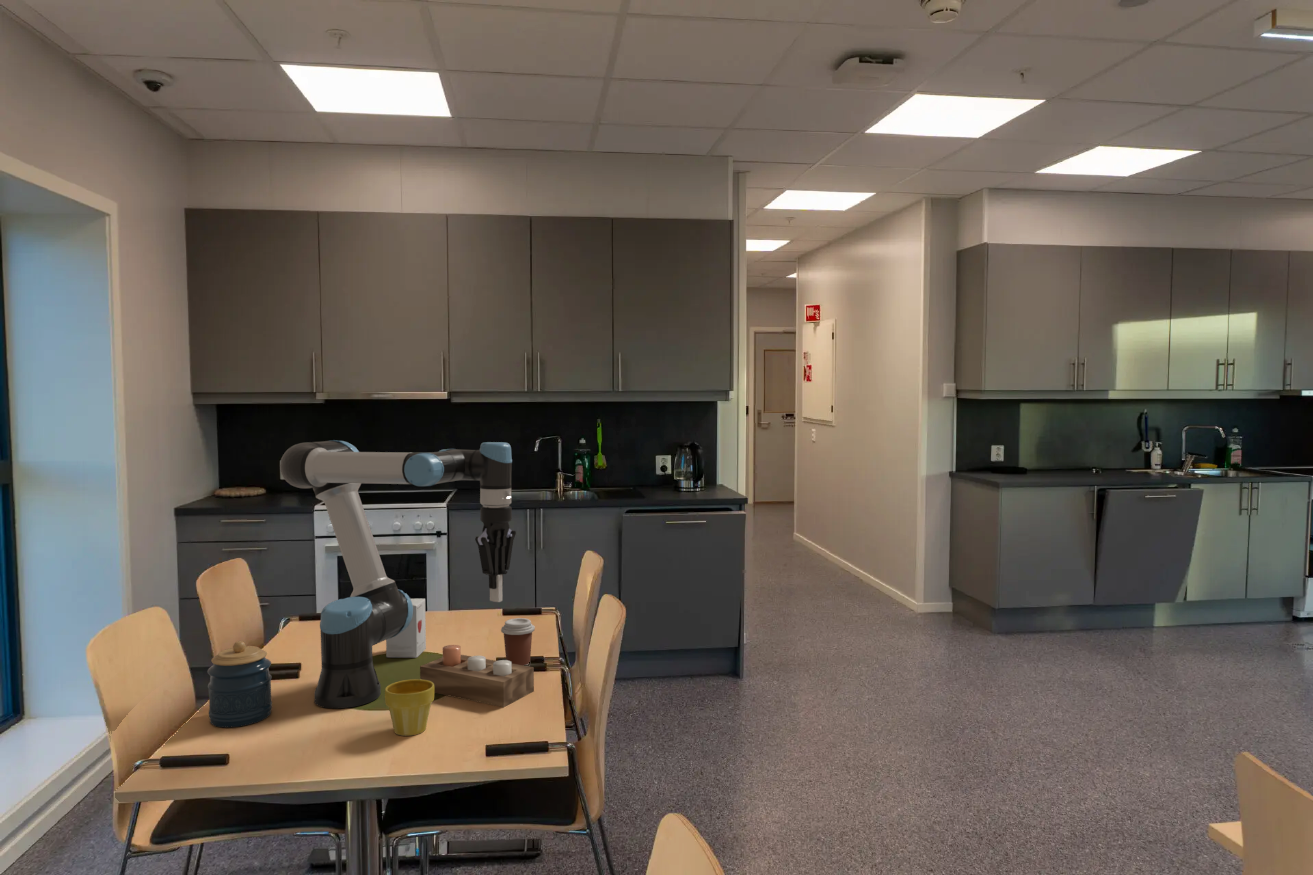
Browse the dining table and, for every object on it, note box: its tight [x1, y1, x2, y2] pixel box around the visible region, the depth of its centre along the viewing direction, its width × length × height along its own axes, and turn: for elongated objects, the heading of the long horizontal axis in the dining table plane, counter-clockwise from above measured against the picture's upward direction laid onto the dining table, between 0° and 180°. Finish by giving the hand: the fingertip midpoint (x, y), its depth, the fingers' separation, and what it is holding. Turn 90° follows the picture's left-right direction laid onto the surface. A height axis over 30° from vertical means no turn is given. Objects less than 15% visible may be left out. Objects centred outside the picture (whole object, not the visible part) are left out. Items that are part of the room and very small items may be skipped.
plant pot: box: [384, 678, 435, 737], centre depth 179 cm, size 10×10×10 cm
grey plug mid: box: [468, 655, 487, 671], centre depth 203 cm, size 4×4×7 cm
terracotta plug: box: [442, 644, 462, 667], centre depth 207 cm, size 4×4×7 cm
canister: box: [206, 640, 273, 728], centre depth 186 cm, size 13×13×18 cm
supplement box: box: [385, 598, 427, 659], centre depth 234 cm, size 9×9×15 cm
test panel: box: [419, 654, 535, 708], centre depth 203 cm, size 12×26×6 cm, turn 63°
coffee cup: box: [500, 617, 536, 666], centre depth 223 cm, size 9×9×12 cm
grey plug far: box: [493, 659, 512, 676], centre depth 200 cm, size 4×4×7 cm
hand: (496, 600), depth 201 cm, fingers closed
